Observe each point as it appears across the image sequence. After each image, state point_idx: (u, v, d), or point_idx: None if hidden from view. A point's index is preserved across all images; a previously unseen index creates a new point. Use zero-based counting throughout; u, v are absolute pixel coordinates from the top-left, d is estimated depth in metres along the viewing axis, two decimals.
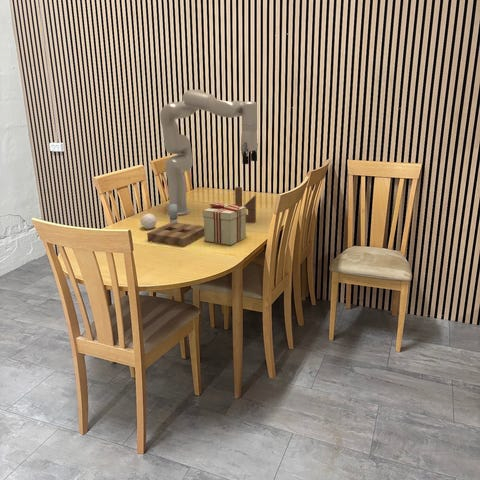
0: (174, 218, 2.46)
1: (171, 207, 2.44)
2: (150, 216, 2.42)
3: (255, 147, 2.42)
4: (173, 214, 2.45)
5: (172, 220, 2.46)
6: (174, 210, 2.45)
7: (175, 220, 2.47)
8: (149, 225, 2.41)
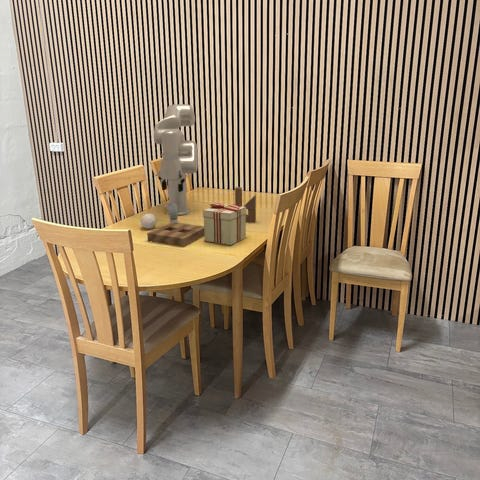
0: (174, 218, 2.46)
1: (171, 207, 2.44)
2: (150, 216, 2.42)
3: None
4: (173, 214, 2.45)
5: (172, 220, 2.46)
6: (174, 210, 2.45)
7: (175, 220, 2.47)
8: (149, 225, 2.41)
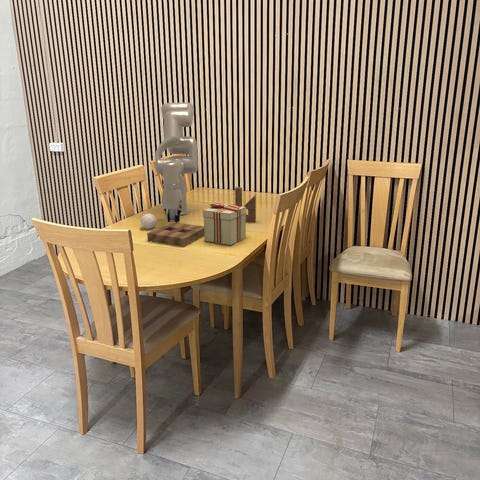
0: (174, 218, 2.46)
1: None
2: (150, 216, 2.42)
3: None
4: (173, 214, 2.45)
5: (172, 220, 2.46)
6: (174, 210, 2.45)
7: None
8: (149, 225, 2.41)
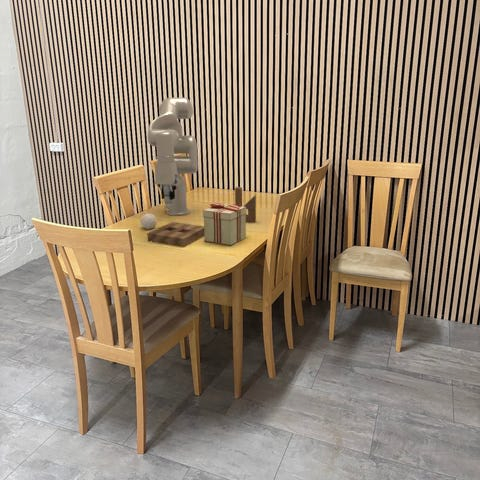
0: (168, 194, 2.23)
1: None
2: (150, 216, 2.42)
3: None
4: (167, 190, 2.23)
5: (166, 197, 2.24)
6: (168, 186, 2.22)
7: None
8: (149, 225, 2.41)
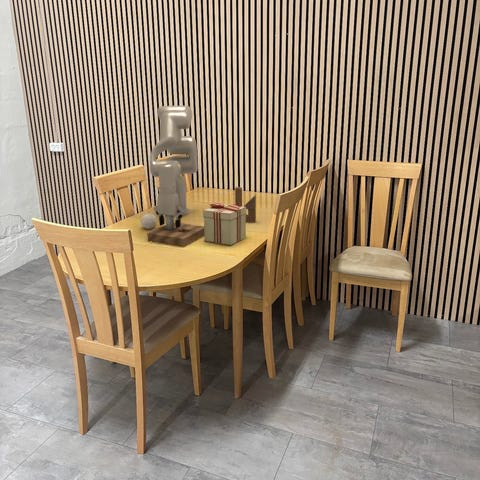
0: (171, 229, 2.29)
1: (167, 217, 2.27)
2: (150, 216, 2.42)
3: None
4: (170, 224, 2.28)
5: None
6: (171, 221, 2.28)
7: None
8: (149, 225, 2.41)
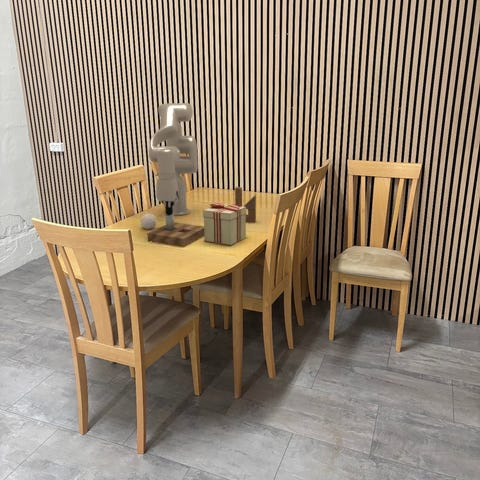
0: (171, 229, 2.29)
1: (167, 217, 2.27)
2: (150, 216, 2.42)
3: None
4: (169, 225, 2.28)
5: None
6: (171, 221, 2.27)
7: None
8: (149, 225, 2.41)
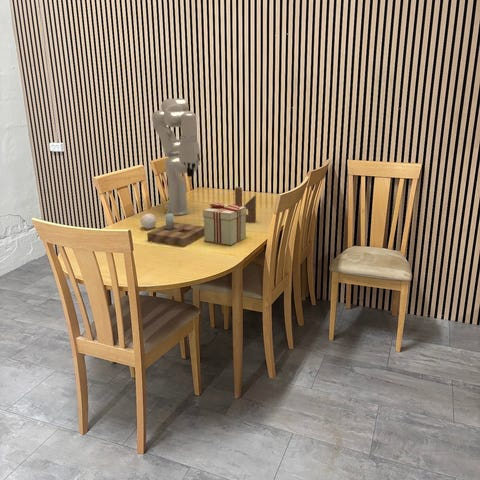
0: (171, 229, 2.29)
1: (167, 217, 2.27)
2: (150, 216, 2.42)
3: None
4: (169, 224, 2.28)
5: None
6: (171, 221, 2.28)
7: None
8: (149, 225, 2.41)
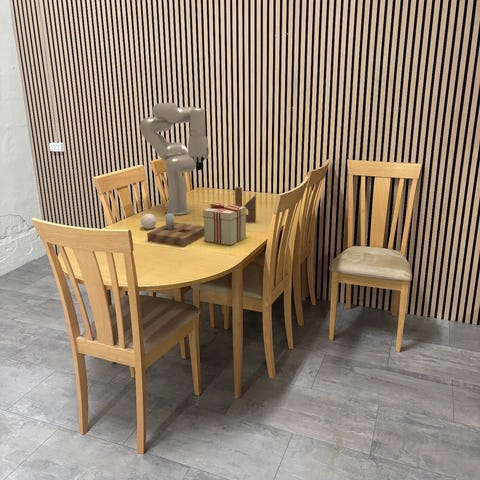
0: (171, 229, 2.29)
1: (167, 217, 2.27)
2: (150, 216, 2.42)
3: None
4: (170, 224, 2.28)
5: None
6: (171, 221, 2.28)
7: None
8: (149, 225, 2.41)
